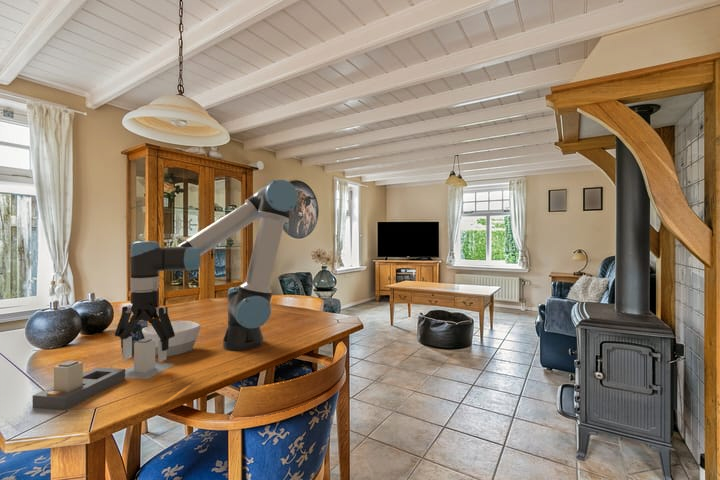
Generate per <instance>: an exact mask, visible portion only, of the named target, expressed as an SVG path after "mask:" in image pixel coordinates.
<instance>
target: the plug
mask: <svg viewBox="0 0 720 480" xmlns="http://www.w3.org/2000/svg"><path fill="white" fill-rule="evenodd" d="M155 363H156V356H155V340H152V339H142V340H139V341H137V342H135V343H134V352H133V366H134V372H143V373H146V372H148V371H150V370H152V369H154V368H155Z"/></svg>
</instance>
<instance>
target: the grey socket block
mask: <svg viewBox="0 0 720 480" xmlns="http://www.w3.org/2000/svg"><path fill="white" fill-rule="evenodd" d="M125 370H126V369H125V368H114V367H113V368H112V367H111V368H110V367H95V368H93V369H91V370H89V371H86V372H83V386H81V387H79V388H77V389H75V390H73V391H71V392H68V393H63V392H61V391H54V385H53V386H52V387H49V388H47V389H44V390H42V391H40V392H37V393H35V394H32V409H42V410H45V409H46V410H56V411H67V410H68V409H70V408H73V407H74V406H76V405H78V404H80V403H82V402H84V401H86V400H88V399H89V398H91V397H93V396H95V395H97V394H99V393H101V392H103V391H105V390H107V389H109V388H111V387H113V386H115V385H117V384H119V383H121V382H123V381H126V378H125Z"/></svg>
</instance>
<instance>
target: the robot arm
mask: <svg viewBox="0 0 720 480" xmlns="http://www.w3.org/2000/svg"><path fill="white" fill-rule="evenodd" d="M298 198H299V197H298V191H297V189H296V187H295V186H294V185H293V184H292V183H291V182H289V181H288V180H286V179H275V180H271V181H270V182H268V183H267V184H265V185H262V187H261V188H259V189H258V190H257V191H256V192H255V193H254V194H252V195H250V197H248V198H246V199H245V201H244V203H243V204H242V205H240V206H239V207H237V208H235V209H233V210H231V212H229V213H227V214H225V215H224V216H223V217H221V218H220V219H218V220H216V221H215V222H213V223H211V224H210V225H208V226H206V227H205V228H203V229H202V230H200V231H198V232H197V233H195V234H193V235H192V236H190V237H188V238H187V239H186V240H184V241H181V243H180V244H178V245H175V246H174V247H161V245H160V244H159V242H158V241H153V240H152V241H149V240H148V241H142V240H141V241H140V240H139V241H134V242H132V243H131V245H130V246H131V247H130V256H129V258H130V291H131V292H130V304H131V305H129V304H128V305H127V306H126V305H124V306H122V308H121V315H120V318H119V322H118V324H117V327H116V330H115V332H114V336H115V337H118V338H119V339H120V344H121V345H120V348H121V349H123V353H122V360H123V361H126V360H129V359H130V358H133V352H132V337H128V336H131V335H130V334H131V332H132V331H133V329H134V328H135V326H136V325H137V323H138V322H139V321H148V323H149V324H151V325H152V326H153V328H154V329H155V331H156V333H157V334H158V336H159V338H160V339H161V340H160V341H158V356H157V357H158V358H157V359H158V360H157V363H163V362H165V361H166V360H167V357H166V353H167V350H168V348H169V345H168V344H169V339H170V338H172V337H174V336H175V334H174V331H173V328H172V325H171V322H172V321H171V319H170V316H169V314H168V307H167V306H162V307H159V305H158V303H159V300H160V298H159V297H160V296H159V295H160V294H159V293H160V291H159V290H158V289H159V288H160V285H159V283H160V282H159V281H160V278H159V277H160V274H159V273H160V271H161V272H165V271H169V272H170V271H188V272H189V271H193V270H199V269H200V267H201V256H202V255H204V254H206V253H207V252H209V251H210V250H212V249H213V248H215V247H217V246H218V245H219V244H221V243H222V242H224V241H225V240H227V239H229V238H231V236H233V235H235V234H237V233H238V232H240V231H241V230H242V229H244V228H246V227H247V226H248V225H250V224H252V223H253V222H255V221H259V224H258V228H257V231H256V236H255V240H254V244H253V247H252V252H251V256H250V259H249V265H248V268H247V273H246V276H245V280H244V282H243V283H241V284H240V285H239V286H233V287H230V288H229V289H227V327H226V330H225V333H224V337H223V340H222V348H224V349H225V350H228V351H248V350H252V349H255V348H260V347H261V346H262V345H264V336H263V332H262V330H261V326H263V325H265V324H266V323H267V322H268V320H269V319H270V317H271V313H272V306H271V297H272V295H273V294H272V293H273V291H272V289H271V288H270V284H271V280H272V277H273V276H272V275H273V271H274V267H275V262H276V258H277V255H278V254H277V253H278V250H279V246H280V241H281V237H282V234H283V229H284V225H285V223H287V222H288V221H290V217H291V213H292V210H293V209H294V208H295V206H296V205H297V203H298ZM128 322H129V323H128ZM127 324H128V325H127ZM151 325H150V326H151Z"/></svg>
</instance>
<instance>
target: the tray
mask: <svg viewBox="0 0 720 480" xmlns="http://www.w3.org/2000/svg"><path fill="white" fill-rule="evenodd" d="M174 365H175V363H170V362H169V363H167V362H166V363H165V362H155V368H154V369H152V370H150V371H148V372H146V373H143V372H134V365H133V366H130V367H128V368H126V369H125V379H126V378H129V379H141V380H143V379H144V380H149V379H150V378H153V377H154V376H156V375H158V374H160V373H161V372H163V371H166V370H167V369H169V368H170V367H172V366H174Z"/></svg>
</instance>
